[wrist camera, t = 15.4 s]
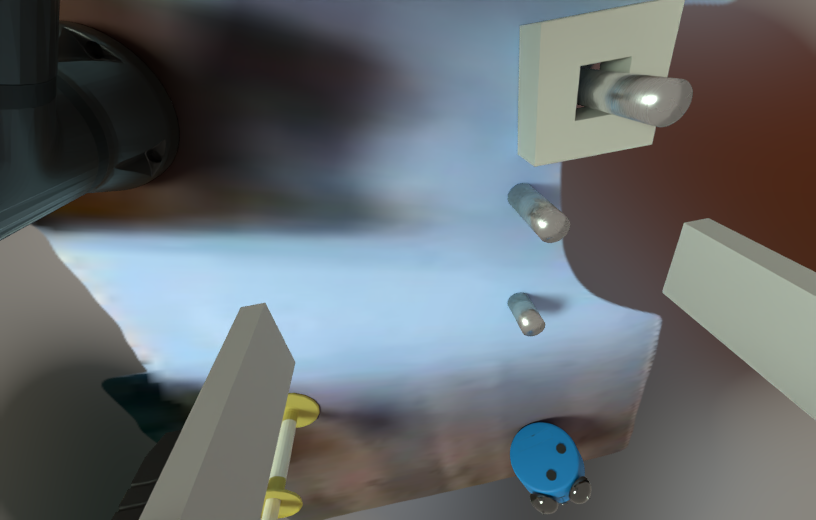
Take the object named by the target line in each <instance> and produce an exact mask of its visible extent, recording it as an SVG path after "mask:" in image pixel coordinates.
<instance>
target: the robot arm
mask: <svg viewBox="0 0 816 520" xmlns="http://www.w3.org/2000/svg"><path fill="white" fill-rule="evenodd" d="M59 9H60V0H0V240H2V239H4V238H6V237H8V236H10V235H11V234H13V233H15V232H17V231H18V230H20V229H22V228H24V227H26V226H28V225H29V224H31V223H33V222H35V221H37V220H39V219H40V218H42V217H44V216H46V215H48V214H49V213H51V212H53V211H55V210H57V209H58V208H60V207H62V206H64V205H66V204H67V203H69V202H71V201H73V200H75V199H77V198H79V197H80V196H82V195H84V194H86V193H95V192H108V191H121V190H128V189H132V188H136V187H139V186H141V185H144V184H146V183H148V182H149V181H151V180H153V179H154V178H156V177H157V176H159V175H160V174H162V173H163V172H164V171H165V170H166V169H167V168H168V167H169V166H170V165H171V163H172V161H173V160H174V158H175V155H176V153H177V149H178V144H179V126H178V121H177V116H176V113H175V110H174V107H173V105H172V102H171V100H170V98H169V96H168V94H167V92H166V91H165V89H164V87H163V86H162V84H161V83H160V81H159V80H158V79H157V77H156V76H155V75H154V73H153V72H152V71H151V70H150V69H149V68H148V67H147V66H146V64H145V63H144V62H143V61H142V60H141V59H139V58H138V57H137V56H136V55H135V54H134V53H133V52H131V51H130V50H129V49H128V48H126V47H125V46H124V45H122V44H121V43H119V42H118V41H116V40H114V39H113V38H111V37H109V36H108V35H106V34H104V33H102V32H100V31H97V30H95V29H93V28H90V27H87V26H84V25H81V24H77V23H73V22H68V21H59ZM662 292H663V293H664V294H665V295H666V296H667V297H668V298H670V299H671V300H672V301H673V302H674V303H675V304H677V305H678V306H679V307H680V308H681V309H683V310H684V311H685V312H686V313H687V314H689V315H690V316H691V317H692V318H693V319H695V320H696V321H697V322H698V323H699V324H701V325H702V326H703V327H704V328H705V329H707V330H708V331H709V332H710V333H711V334H713V335H714V336H715V337H716V338H717V339H719V340H720V341H721V342H722V343H723V344H725V345H726V346H727V347H728V348H729V349H731V350H732V351H733V352H734V353H735V354H736V355H738V356H739V357H740V358H742V359H743V360H744V361H745V362H746V363H747V364H749V365H750V366H751V367H752V368H753V369H754V370H756V371H757V372H758V373H759V374H760V375H762V376H763V377H764V378H765V379H766V380H768V381H769V382H770V383H771V384H772V385H774V386H775V387H776V388H777V389H779V390H780V391H781V392H782V393H783V394H784V395H786V396H787V397H788V398H789V399H790V400H792V401H793V402H794V403H795V404H796V405H798V406H799V407H800V408H801V409H802V410H803V411H805V412H806V413H807V414H808V415H810V416H811V417H812V418H813V419H814V420H815V421H816V272H814V271H812V270H810V269H808V268H806V267H804V266H802V265H800V264H798V263H796V262H794V261H792V260H790V259H788V258H786V257H784V256H782V255H780V254H778V253H776V252H774V251H772V250H770V249H768V248H766V247H764V246H762V245H760V244H758V243H756V242H754V241H753V240H750V239H749V238H747V237H744V236H742V235H741V234H738V233H737V232H735V231H733V230H731V229H729V228H727V227H725V226H723V225H721V224H719V223H717V222H715V221H713V220H711V219H709V218H707V219H702V220H697V221H692V222H686V223H684V225H683V228H682V231H681V235H680V238H679V241H678V244H677V247H676V250H675V254H674V257H673V260H672V263H671V266H670V269H669V272H668V275H667V279H666V282H665V285H664V288H663V291H662ZM294 366H295V361H294V359H293V357H292V355H291V353H290V351H289V349H288V347H287V345H286V343H285V341H284V339H283V337H282V335H281V333H280V331H279V329H278V327H277V325H276V323H275V321H274V319H273V317H272V315H271V313H270V311H269V309H268V307H267V305H266V303H261V304H256V305H251V306H245V307H241V308H240V310H239V312H238V314H237V316H236V318H235V320H234V323H233V325H232V327H231V329H230V331H229V333H228V335H227V337H226V339H225V341H224V343H223V345H222V348H221V350H220V352H219V354H218V356H217V358H216V360H215V362H214V364H213V366H212V368H211V370H210V373H209V375H208V377H207V379H206V381H205V383H204V385H203V387H202V389H201V391H200V393H199V395H198V398H197V400H196V402H195V404H194V406H193V408H192V410H191V412H190V414H189V416H188V418H187V420H186V423H185V425H184V427H183V429H182V430H179V431H174V432H169V433H166V434H165V435H164V436H163V437H162V438H161V439H160V441H159V442H158V443H157V444H156V445H155V446H154V448H153V449H152V450H151V451H150V452H149V453H148V455H147V456H146V457H145V459H144V461H143V462H142V464H141V466H140V468H139V470H138V472H137V474H136V476H135V477H134V479H133V481H132V483H131V484H132V486H131V488H130V489H128V490H127V492H126V494H125V496H124V498H123V500H122V501H121V503H120V505H119V511H118V512H116V513H115V514H114V516H113V518H112V520H260V517H261V513H262V508H263V504H264V499H265V495H266V491H267V486H268V482H269V477H270V473H271V468H272V464H273V459H274V455H275V451H276V446H277V442H278V437H279V433H280V428H281V424H282V419H283V415H284V411H285V406H286V402H287V397H288V393H289V388H290V384H291V379H292V375H293V370H294Z"/></svg>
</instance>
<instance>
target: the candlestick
mask: <svg viewBox="0 0 816 520" xmlns="http://www.w3.org/2000/svg"><path fill="white" fill-rule="evenodd" d="M319 413H320V411H319V405H318V404H317V403H316V402H315V401H314V400H313V399H311V398H310V397H308V396H306V395H302V394H296V393H288V397H287V402H286V406H285V411H284V415H283V419H282V424H281V429H280V434H279V438H278V442H277V447H276V451H275V456H274V460H273V465H272V469H271V474H270V478H269V483H268V487H267V491H266V495H265V499H264V504H263V508H262V513H261V517H260V518H262V520H277V519H278V518H284V517H288V516H291V515H293V514H295V513H297V512H298V511H299V510H300V509H301V507H302V505H303V503H302V499H301V497H300V496H299V495H297V494H296V493H294V492H291V491H289V490H285V489H284V488H285V483H286V478H287V472H288V467H289V461H290V456H291V451H292V445H293V440H294V435H295V429H296V428H297V427H303V426H306V425H309V424H311V423H312V422H313V421H315V420H316V419H317V417H318V415H319Z"/></svg>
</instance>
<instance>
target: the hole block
mask: <svg viewBox="0 0 816 520" xmlns="http://www.w3.org/2000/svg"><path fill="white" fill-rule="evenodd" d="M684 2H685V0H654V1H647V2H642V3H637V4H631V5H626V6H621V7H615V8H610V9H605V10H600V11H594V12H589V13H584V14H578V15H573V16H568V17H563V18H557V19H552V20H547V21H542V22H536V23H531V24H526V25H520V37H519V96H518V155H519V156H521V157H522V158H523V159H525V160H526V161H527V162H529V163H530V164H532V165H533V166H534V167H536V166H541V165H546V164H552V163H557V162H562V161H567V160H573V159H577V158H583V157H588V156H594V155H599V154H604V153H609V152H615V151H620V150H625V149H630V148H636V147H641V146H646V145H651V144H652V142H653V137H654V133H655V128H656V127H655V126H652V125H648V124H645V123H641V122H638V121H634V120H631V119H627V118H624V117H620V116H616V115H613V114H609V113H606V112H602V111H599V110H595V109H592V108H588V107H582V108H577V109H576V104H577V94H578V85H579V75H580V66H583V65H588V64H593V63H599V62H601V64H600V70H604V71H613V72H623V73H632V74H641V75H650V76H660V77H667V76H668V72H669V67H670V63H671V58H672V54H673V50H674V45H675V41H676V37H677V32H678V28H679V24H680V19H681V15H682V10H683V6H684Z"/></svg>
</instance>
